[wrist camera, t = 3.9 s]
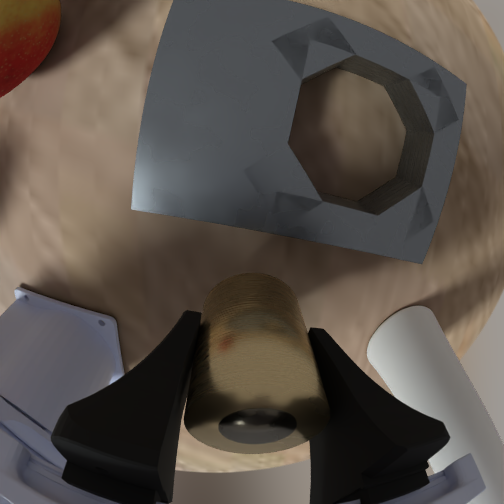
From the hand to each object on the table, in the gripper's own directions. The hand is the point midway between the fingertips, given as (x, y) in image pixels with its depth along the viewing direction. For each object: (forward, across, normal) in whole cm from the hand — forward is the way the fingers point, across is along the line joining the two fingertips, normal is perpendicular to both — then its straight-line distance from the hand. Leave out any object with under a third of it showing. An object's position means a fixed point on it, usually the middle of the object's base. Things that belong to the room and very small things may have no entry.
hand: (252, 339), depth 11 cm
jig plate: (+4, -1, -9) cm, 10 cm away
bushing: (+2, 0, 0) cm, 2 cm away
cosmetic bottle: (+4, -12, +3) cm, 13 cm away
